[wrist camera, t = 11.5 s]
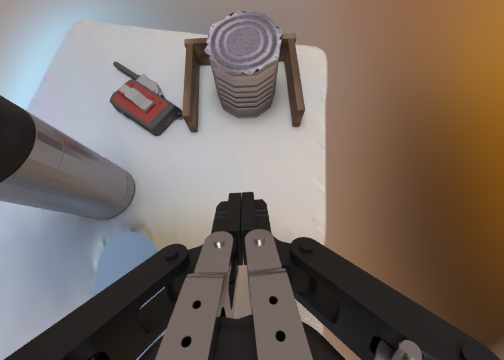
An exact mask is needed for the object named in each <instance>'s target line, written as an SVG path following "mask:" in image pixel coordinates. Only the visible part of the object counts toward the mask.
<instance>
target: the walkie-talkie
mask: <svg viewBox="0 0 504 360" xmlns="http://www.w3.org/2000/svg"><path fill="white" fill-rule="evenodd" d="M113 64H114V66H115V67H117V68H118V69H120V70H121V71H123V72H124V73H126V74H127V75H129V76H130V77H132V78H134V79H133V80H129V81H128V82H127V83H125V84H124V85H123V86H122V87H120V88H119V89H118V90H117V91H116V92H114V93H113V95H112V96H111V98H110V103H111V104H112V105H113V107H114V108H115V109H117V110H118V111H120V112H122V113H123V114H124V115H125V116H127V117H129V118H130V119H132V120H134V122H136V123H138V124H139V125H140V126H142V127H144V128H145V129H146V130H148V131H149V132H150V133H152V134H153V135H155V136H159V135H161V134H162V133H163V132H164V131H165V130H166V129H167V128H168V126H169V125H170V124H171V123H172V122H173V121H174V120H175V119H176V118H177V117H178V118H179V117H182V110H181V109H180V108H178V107H177V106H175V105H174V104H172V103H170V102H169V101H167V100H166V99H165V98H164V96H163V94H162V93H161V89H160V87H159V86H158V84H157V83H156V82H154V81H152V80H151V79H149V78H148V77H147V76H146V75H144V74H142V75H141V76H140V75H137V74H135V73H134V72H132V71H130V70H129V69H127V68H126V67H124V66H123V65H121V64H119V63H118V62H114V63H113ZM177 110H178V111H179V112H180V114H178V111H177Z"/></svg>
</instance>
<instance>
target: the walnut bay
mask: <svg viewBox="0 0 504 360" xmlns="http://www.w3.org/2000/svg"><path fill="white" fill-rule="evenodd" d="M206 42H207V38H197V39H185V43H184V44H185V47H186V62H185V79H184V95H183V112H182V117H183V118H184V120H185V122H186V124H187V126H188V127H189V129H190V131H191V132H197V128H198V97H199V66H200V65H211V63H210V59H209V56H208V55H207V53H206V52H205V51H204V49H205V45H206ZM295 42H296V34H283V36H282V41H281V46H280V54H279V61H284V62H285V70H286V78H287V86H288V93H289V101H290V109H291V117H292V125H293V127H295V126H299V125H300V122H301V120H302V117H303V114H304V111H305V106H304V99H303V93H302V86H301V80H300V73H299V67H298V60H297V53H296V47H295Z"/></svg>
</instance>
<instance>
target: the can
mask: <svg viewBox="0 0 504 360" xmlns="http://www.w3.org/2000/svg"><path fill="white" fill-rule="evenodd" d="M282 36H283V32H282V31H281V30H280V29H279V28H278V27H277V26H276V24H275V23H274V22H273V21H272V20H271V19H270V18H269V17H268V16H267V15H266V14H265V13H254V12H242V11H235V12H233V13H232V14H230V15H228V16H227V17H225V18H223V19H222V20H220V21H218V22H217V23H215V24H213V25H211V28H210V31H209V35H208V38H207V42H206V45H205V49H204V51H205V52H206V53H207V55H208V56H209V59H210V63H211V67H212V72H213V76H214V80H215V84H216V88H217V92H218V96H219V99H220V101H221V104H222V107H223V109H224V110H225V111H227V112H228V113H230V114H232V115H234V116H235V117H237V118H254V117H258V116H259V115H261V114H262V113H263V112H265V111H266V110H268V109H269V108H270V107H271V104H272V100H273V97H274V94H275V86H276V78H277V70H278V62H279V54H280V46H281V41H282Z"/></svg>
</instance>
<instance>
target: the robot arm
mask: <svg viewBox="0 0 504 360" xmlns="http://www.w3.org/2000/svg"><path fill="white" fill-rule="evenodd" d="M134 191H135V185H134V180H133V178H132V176H131V175H130V174H129V173H128V172H127V171H125V170H124V169H122V168H121V167H119V166H117V165H116V164H114V163H112V162H111V161H109V160H107V159H106V158H104V157H102V156H101V155H99V154H97V153H96V152H94V151H92V150H91V149H89V148H87V147H86V146H84V145H82V144H81V143H79V142H77V141H76V140H74V139H72V138H71V137H69V136H67V135H66V134H64V133H62V132H61V131H59V130H57V129H56V128H54V127H52V126H51V125H49V124H47V123H46V122H44V121H42V120H41V119H39V118H37V117H36V116H34V115H32V114H31V113H29V112H27V111H25V110H24V109H22V108H21V107H19V106H17V105H15V104H14V103H12V102H10V101H9V100H7V99H5V98H4V97H2V96H0V201H4V202H9V203H15V204H20V205H25V206H31V207H36V208H42V209H47V210H52V211H58V212H63V213H69V214H74V215H79V216H84V217H90V218H96V219H108V218H112V217H114V216H116V215H118V214H119V213H121V212H122V211H123V210H124V209H125V208H126V207H127V206H128V205H129V203H130V202H131V200H132V198H133V195H134ZM243 259H244V265H247V273H248V284H249V294H250V304H251V314H252V315H249V316H246V317H243V318H240V319H233V314H234V306H235V297H236V289H237V281H238V277H237V275H238V265H243ZM164 286H165V288H164V289H163V290H162V291H161V292H160V293H158V294H157V295H156V296H155V297H154V298H153V299H151V300H150V301H149V302H148V303H147V304H146V305H145V306H143V307H142V308H141V306H142V305H143V304H144V303H145V302H147V301H148V300H149V299H150V298H151V297H153V296H154V295H155V294H156V293H157V292H158V291H160V290H161V289H162V288H163V287H164ZM295 299H296V300H297V301H298V302H299V303H301V304H302V305H303V306H304V307H305V308H306V309H307V310H308V311H309V312H310V313H311V314H312V315H314V316H315V317H316V318H317V319H318V320H319V321H320V322H321V323H322V324H323V325H324V326H326V327H327V328H328V329H329V330H330V331H331V332H332V333H333V334H334V335H335V336H337V337H338V338H339V339H340V340H341V341H342V342H343V343H344V344H345V345H346V346H347V347H348V348H350V349H351V350H352V351H353V352H354V353H355V354H356V355H357V356H358V357H359V358H360V359H361V360H500V359H499V358H498V357H497V356H496V355H495V354H494V353H493V352H492V351H491V350H489V349H488V348H487V347H486V346H484V345H483V344H481V343H480V342H478V341H477V340H475V339H474V338H472V337H470V336H469V335H467V334H466V333H464V332H462V331H461V330H459V329H457V328H456V327H454V326H453V325H451V324H449V323H448V322H446V321H444V320H443V319H441V318H440V317H438V316H436V315H435V314H433V313H432V312H430V311H428V310H427V309H425V308H424V307H422V306H420V305H418V304H417V303H415V302H414V301H412V300H411V299H409V298H407V297H406V296H404V295H402V294H401V293H399V292H398V291H396V290H394V289H393V288H391V287H390V286H388V285H386V284H385V283H383V282H382V281H380V280H378V279H377V278H375V277H373V276H372V275H370V274H369V273H367V272H365V271H364V270H362V269H361V268H359V267H357V266H356V265H354V264H352V263H351V262H349V261H348V260H346V259H344V258H342V257H341V256H340V255H338V254H336V253H335V252H333V251H331V250H330V249H328V248H326V247H325V246H323V245H322V244H320V243H319V242H317V241H315V240H313V239H311V238H307V237H300V238H297V239H295V240H293V241H292V243H286V242H282V241H279V240H277V239H276V238H275V237H274V236H273V235H272V233H271V228H270V222H269V216H268V210H267V204H266V203H265V202H264V201H263V200H262V199H260V200H254V193H253V192H243V193H242V197H241V193H229V199H228V201H224V202H220V204H219V205H218V206H217V208H216V213H215V218H214V222H213V227H212V232H211V234H210V235H209V236H208V237H207V238H206V239H205V241H204V244H203V245H201V246H199V247H196V248H193V249H189V250H187V248H186V247H185V246H184V245H182V244H172V245H169V246H166V247H165V248H163V249H162V250H160V251H159V252H157V253H156V254H155V255H153V256H152V257H150V258H149V259H147V260H146V261H145V262H143V263H142V264H140V265H139V266H137V267H136V268H134V269H133V270H131V271H130V272H129V273H127V274H126V275H124V276H123V277H121V278H120V279H119V280H117V281H116V282H114V283H113V284H111V285H110V286H109V287H107V288H106V289H104V290H103V291H101V292H100V293H99V294H97V295H96V296H94V297H93V298H91V299H90V300H88V301H87V302H86V303H84V304H83V305H81V306H80V307H78V308H77V309H76V310H74V311H73V312H71V313H70V314H68V315H67V316H66V317H64V318H63V319H61V320H60V321H58V322H57V323H56V324H54V325H53V326H51V327H50V328H48V329H47V330H46V331H44V332H43V333H41V334H40V335H38V336H37V337H36V338H34V339H33V340H31V341H30V342H28V343H27V344H25V345H24V346H23V347H21V348H20V349H18V350H17V351H15V352H14V353H13V354H11V355H10V356H8V357H7V358H5V359H4V360H136V359H137V358H138V357H139V356H140V355H141V354H142V353H143V352H144V350H146V349H147V348H148V346H150V344H152V343H153V341H154V340H155V339H156V338H157V337H158V336H159V335H160V334H161V333H162V332H163V331H164V330H165V329H166V328H167V329H166V332H165V334H164V335H163V336H162V337H160V338H159V339H158V340H157V341H156V342H155V343H154V344H153V345H152V346H151V347H150V348H149V349H148V350H147V351H146V352H145V353H144V354H143V355H142V357H141V358H140V359H139V360H345V358H344V357H343V356H342V355H341V354H340V353H339V352H338V351H336V349H335V348H334V347H333V346H331V344H330V343H329V342H328V341H327V340H326V339H325V338H324V337H323V336H322V335H321V334H320V333H319V332H317V331H316V330H315V329H314V328H312V327H311V326H309V325H308V324H306V323H304V322H302V321H301V318H300V315H299V311H298V308H297V305H296V301H295ZM140 308H141V309H140ZM139 309H140V310H139Z"/></svg>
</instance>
